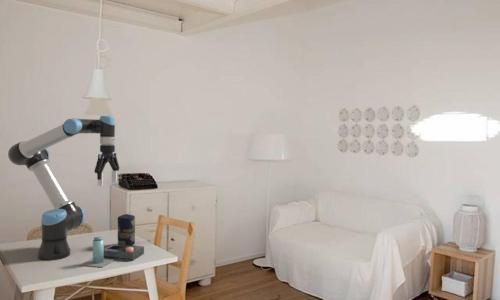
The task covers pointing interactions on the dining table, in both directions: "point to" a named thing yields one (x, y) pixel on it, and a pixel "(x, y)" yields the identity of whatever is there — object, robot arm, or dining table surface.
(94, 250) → the cylinder
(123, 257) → the housing
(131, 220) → the canister
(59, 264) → the dining table surface
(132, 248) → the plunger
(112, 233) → the dining table surface
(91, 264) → the mat
